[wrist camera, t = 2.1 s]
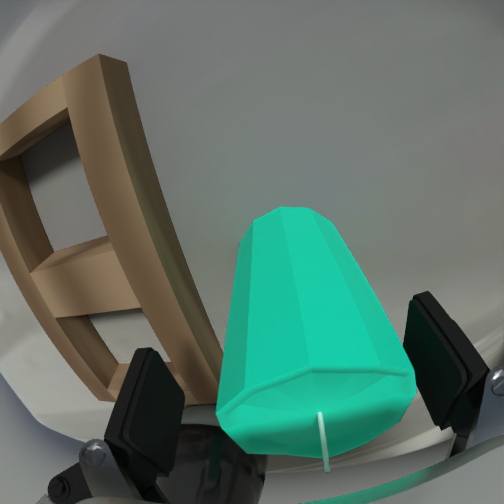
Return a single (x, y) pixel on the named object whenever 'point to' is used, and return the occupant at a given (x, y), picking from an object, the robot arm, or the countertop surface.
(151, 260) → the socket block
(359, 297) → the candle
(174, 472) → the pump dispenser
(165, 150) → the countertop surface
